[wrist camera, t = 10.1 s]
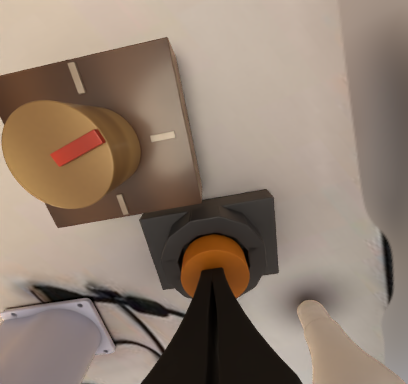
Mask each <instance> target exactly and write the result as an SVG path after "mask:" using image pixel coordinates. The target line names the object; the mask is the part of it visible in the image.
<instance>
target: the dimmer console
mask: <svg viewBox="0 0 408 384" xmlns="http://www.w3.org/2000/svg"><path fill="white" fill-rule="evenodd" d="M38 100H51V101H58V102H65V103H72V104H80V105H87V106H94V107H101V108H106V109H109V110H111V111H114V112H115V113H117V114H119V115H120V116H122V117H123V118H124V119H125V120H126V121H127V122H128V123H129V124H130V125H131V126H132V128H133V129H134V131H135V133H136V135H137V137H138V140H139V143H140V149H141V157H140V162H139V165H138V167H137V170H136V171H135V173H134V174H133V175H132V176H131V177H130V178H129V179H127V180H126V181H125V182H123V183H122V184H121V185H119V186H118V187H117V188H115V189H114V190H113V191H111V192H110V193H109V194H107V195H106V196H105V197H103V198H102V199H101V200H99V201H98V202H96V203H95V204H93V205H90V206H88V207H84V208H78V209H66V208H59V207H55V206H52V205H49V204H47V203H45V204H46V206H47V208H48V210H49V212H50V214H51V216H52V218H53V220H54V222H55V224H56V226H57V228H61V227H67V226H73V225H78V224H84V223H90V222H96V221H102V220H107V219H113V218H119V217H125V216H131V215H136V214H142V213H148V212H154V211H159V210H165V209H171V208H177V207H183V206H188V205H194V204H200V203H202V184H201V179H200V174H199V169H198V164H197V159H196V154H195V149H194V144H193V139H192V134H191V129H190V124H189V119H188V114H187V109H186V104H185V99H184V94H183V89H182V84H181V80H180V75H179V70H178V65H177V60H176V56H175V54H174V51H173V49H172V47H171V44H170V42H169V40H168V38H167V37H165V38H161V39H157V40H152V41H148V42H144V43H139V44H135V45H131V46H126V47H122V48H118V49H113V50H109V51H105V52H100V53H96V54H92V55H87V56H83V57H79V58H74V59H70V60H66V61H61V62H57V63H53V64H48V65H44V66H40V67H35V68H31V69H27V70H22V71H18V72H14V73H9V74H5V75H1V76H0V117H1V119H2V121H3V123H4V125H5V123H6V121H7V119H8V118H9V116H10V115H11V114H12V113H13V112H14V111H15V110H16V109H17V108H19V107H20V106H22V105H24V104H26V103H29V102H32V101H38Z"/></svg>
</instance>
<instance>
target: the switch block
mask: <svg viewBox="0 0 408 384" xmlns="http://www.w3.org/2000/svg"><path fill="white" fill-rule="evenodd" d="M139 221H140V224H141V227H142V229H143V232H144V235H145V238H146V241H147V244H148V247H149V250H150V253H151V256H152V259H153V262H154V265H155V267H156V270H157V273H158V276H159V279H160V282H161V285H162V288H163V290H166V289H173V288H175V289H176V290H177V291H179V292H180V293H181V294H182V295H183V296H185V297H187V298H191V299H192V297H191V296H189V295H188V294H187V292H186V291H185V290H184V288H183V286H182V283H181V270H182V263H183V257H184V253H185V251H186V249H187V247H188V246H189V245H190V244H191V243H192V242H193V241H195V240H196V239H198V238H200V237H202V236H206V235H223V236H226V237H229V238H231V239H233V240H234V241H235V242H237V243H238V244H239V246H240V247H241V248H242V250H243V253H244V256H245V259H246V262H247V266H248V269H249V273H250V278H249V283H248V286H247V288H246V289H245V291H244V292H243V293H242V294H241V295H243V294H245V293H246V292H248V291H250V290H251V289H253V288H254V287H255V286H256V285H257V283H258V282H259V280H260V278H261V276H263V275H269V274H276V273H279V270H278V255H277V240H276V225H275V210H274V197H273V196H272V195H271V194H270V193H269V192H268V191H267V190H260V191H255V192H249V193H243V194H237V195H232V196H226V197H220V198H214V199H208V200H203V201H202V203H200V204H194V205H188V206H183V207H177V208H171V209H165V210H159V211H154V212H148V213H144V214H143V215H142V217H141V218H140V220H139ZM241 295H240V296H241ZM240 296H239V297H240ZM237 298H238V297H237ZM237 298H236V299H237Z"/></svg>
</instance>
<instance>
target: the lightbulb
mask: <svg viewBox="0 0 408 384" xmlns="http://www.w3.org/2000/svg"><path fill="white" fill-rule="evenodd" d="M297 314H298V317H299V319H300V322H301V324H302V327H303V329H304V337H305V340H306V342H307V344H308V347H309V351H310V354H311V358H312V365H313V384H406V383H405V382H404V381H403V380H402V379H401V378H400V377H399V376H398V375H396V374H395V373H394V372H392V371H391V370H390V369H388V368H387V367H386V366H384V365H383V364H382V363H380V362H379V361H378V360H376V359H375V358H373V357H372V356H370V355H369V354H367V353H366V352H364V351H363V350H362V349H361V348H360V347H359V346H358V345H356V344H355V343H354V342H353V341H352V340H351V339H350V338H349V337H348V335H347V334H346V333H345V332H344V331H343V329H342V328H341V327H340V325H339V324H338V323H337V322H336V321H334V320H332V318H331V317H330V315H329V314H328V312H327V311H326V309H325V308H324V307H323V306H322V304H321V303H319V302H318V301H315V300H305V301H303V302H302V303H301V304H300V305H299V306H298V308H297Z"/></svg>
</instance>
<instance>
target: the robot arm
mask: <svg viewBox="0 0 408 384" xmlns="http://www.w3.org/2000/svg"><path fill="white" fill-rule="evenodd" d="M0 316H1V318H2V319H3V320H4V321H3V322H2V323H1V324H0V384H81V383H82V381H83V379H84V377H85V374H86V372H87V370H88V368H89V366H90V364H91V362H92V360H93V357H94V356H95V355H103V354H111V353H114V351H115V349H116V346H115V345H114V343H113V341H112V339H111V337H110V335H109V333H108V331H107V329H106V327H105V326H104V324H103V322H102V320H101V318H100V316H99V314H98V312H97V310H96V308H95V306H94V305H93V303H92V301H91V299H89V298H81V299H74V300H68V301H61V302H54V303H47V304H40V305H33V306H27V307H20V308H13V309H6V310H4V311H3V312H2V313H1V314H0ZM141 384H302V382H301V381H300V379H299V377H298V376H297V375H296V374H295V372H294V371H293V370H292V369H291V368H290V367H289V366H288V365H287V364H286V363H285V362H284V361H283V360H282V359H281V358H280V357H279V356H278V355H277V353H276V352H275V351H274V350H273V349H272V348H271V347H270V345H269V344H268V343H267V342H266V341H265V339H264V338H263V337H262V336H261V334H260V333H259V332H258V331H257V329H256V328H255V327H254V325H253V324H252V323H251V321H250V320H249V318H248V317H247V315H246V314H245V312H244V311H243V309H242V308H241V306H240V304H239V303H238V301H237V299H236V298H235V296H234V294H233V292H232V290H231V288H230V286H229V284H228V281H227V279H226V276H225V273H224V269H223V268H222V267H220V268H214V269H207V270H202V271H201V274H200V278H199V281H198V285H197V288H196V290H195V293H194V296H193V298H192V301H191V303H190V305H189V308H188V310H187V312H186V314H185V316H184V318H183V320H182V322H181V324H180V326H179V328H178V330H177V332H176V333H175V335H174V337H173V338H172V340H171V342H170V343H169V345H168V347H167V348H166V350H165V351H164V353H163V354H162V356H161V357H160V358H159V360H158V361H157V363H156V364H155V366H154V367H153V369H152V370H151V371H150V373H149V374H148V375H147V376H146V378H145V379H144V380H143V381H142V383H141Z"/></svg>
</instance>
